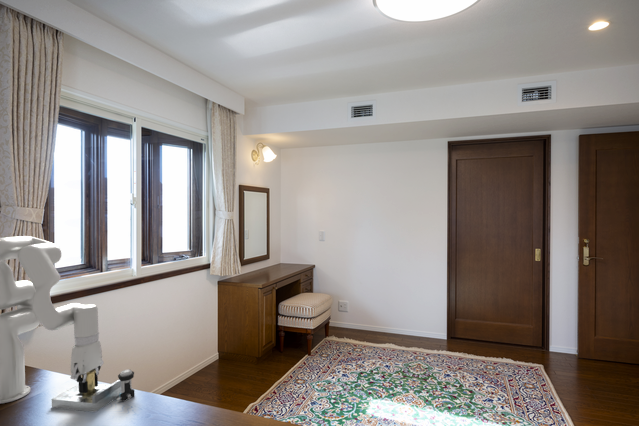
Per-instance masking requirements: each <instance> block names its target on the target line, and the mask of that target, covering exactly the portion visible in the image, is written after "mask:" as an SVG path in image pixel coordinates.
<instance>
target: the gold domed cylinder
mask: <svg viewBox="0 0 639 426" xmlns="http://www.w3.org/2000/svg"><path fill="white" fill-rule="evenodd" d="M93 370H94V369H93ZM93 370H91V371H89V372H87V375H86V381H87V384H88V392H87V393H82V396H87V397H89V396H90V395H92V394H94V393H95V371H93ZM81 377H83V375H81Z"/></svg>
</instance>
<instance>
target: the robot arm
mask: <svg viewBox="0 0 639 426" xmlns="http://www.w3.org/2000/svg"><path fill="white" fill-rule="evenodd" d="M61 258H62V250H61V248H60V246H58V245H56V244H55V243H53V242H51V241H48V240H45V239H41V238H38V237H35V236H28V235H23V236H22V235H20V236H6V237H5V236H4V237H0V310H1V311H2V310H6V309H10V308H14V307H16V309H15V310H10V311H6V312H2V313H0V404H5V403H10V402H14V401H16V400H19V399H21V398H24V397H25V396H27V395H28V394H29V393H30V392H31V387H30V386H29V385H26V372H25V371H26V368H25V346H24V342H23V341H22V340H21V339H20V338H19V335H22V334H25V333H27V332H30V331H32V330H34V329H36V328H38V327H39V326H40V324H41V325H42V327H43V328H44V329H46V330H48V331H57V330H58V331H59V330H60V329H63V328H65V327H68V326H72V325H73V332H74V334H73V335H74V337H73V338H74V346H73V347H72V349H71V355H70V356H71V357H70V373H71V375H70V379H71V380H74V381H76V382H77V383H78V384H79V392H80V393H87V392H88V384H87V381H86V375H87V372H89V371H91V370H93V371H95V387H97V386H98V384H99V382H98V380H99V379H98V376H99V374H100V369H101V368H102V366H103V365H104V364H105V363H104V360H103V351H102V344H101V341H100V337H99V336H100V332H99V315H98V314H99V312H98V310H99V308H98V305H96V304H92V303H90V304H83V303H82V304H81V303H79V302H70V303H68V304H65V305H61V306H59V307H55V306H54V304H53V303H52V300H51V296H50V293H51V289H52V288H53V287H54V286H55V285H57V283H59V282H60V280H61V278H62V277H61V274H60V273H59V272H58V270H57V268H56V267H55V265H54V264H57V263H58V262H59V261H60V260H61ZM16 259H18V260H17V261H19V263H20V265H21V266H22V268H23V270H24V272H25V274H26V276H27V277H28V279H29V280H27V279H26V280H25V279H21V280H17V281H16V280H15V276H14V271H13V269H12V268H11V266H10V265H9V264H8V263H7V262H6V261H7V260H16ZM82 375H83V377H82Z"/></svg>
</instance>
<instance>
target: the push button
mask: <svg viewBox="0 0 639 426" xmlns="http://www.w3.org/2000/svg"><path fill="white" fill-rule="evenodd" d="M134 377H135V371H133V370H132V369H129V368H128V369H124V370H122V371H120V373H119V374H118V375H117V378H118V380H120V381H121V393H120V394H119V397H117V398H116V400H117V401H116V403H120V402H122V403H124V402H126V401H127V400H131V398H134V397H135V396H136V395H135V394H136V393H135V389H134V388H133V385H132V379H133V378H134Z"/></svg>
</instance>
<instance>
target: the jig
mask: <svg viewBox="0 0 639 426" xmlns="http://www.w3.org/2000/svg"><path fill="white" fill-rule="evenodd" d="M120 393H121V381H120V380H119V379H117V380H116V381H114V382H112V383H111V384H104V383H103V384H102V383H101V384H100V383H98V386H97V387H95V393H94V394H92V395H90V396H89V397H87V396H82V393H80V392H79V383H78V384H77V385H74V386H73V387H71V388H69V389H68V390H67V389H66V391H64V392H62V393H60V394H58V395H57V396H55V397H53V398H52V399H51V408H52V409H53V408H54V409H63V410H73V411H80V412H82V411H83V412H92V413H97V412H98V411H99V410H101V409H103V408H104V407H106V405H108V404H110V403H111V402H113V401H114V400H115V398H116V399H118V398H119V394H120ZM112 400H113V401H112Z"/></svg>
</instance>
